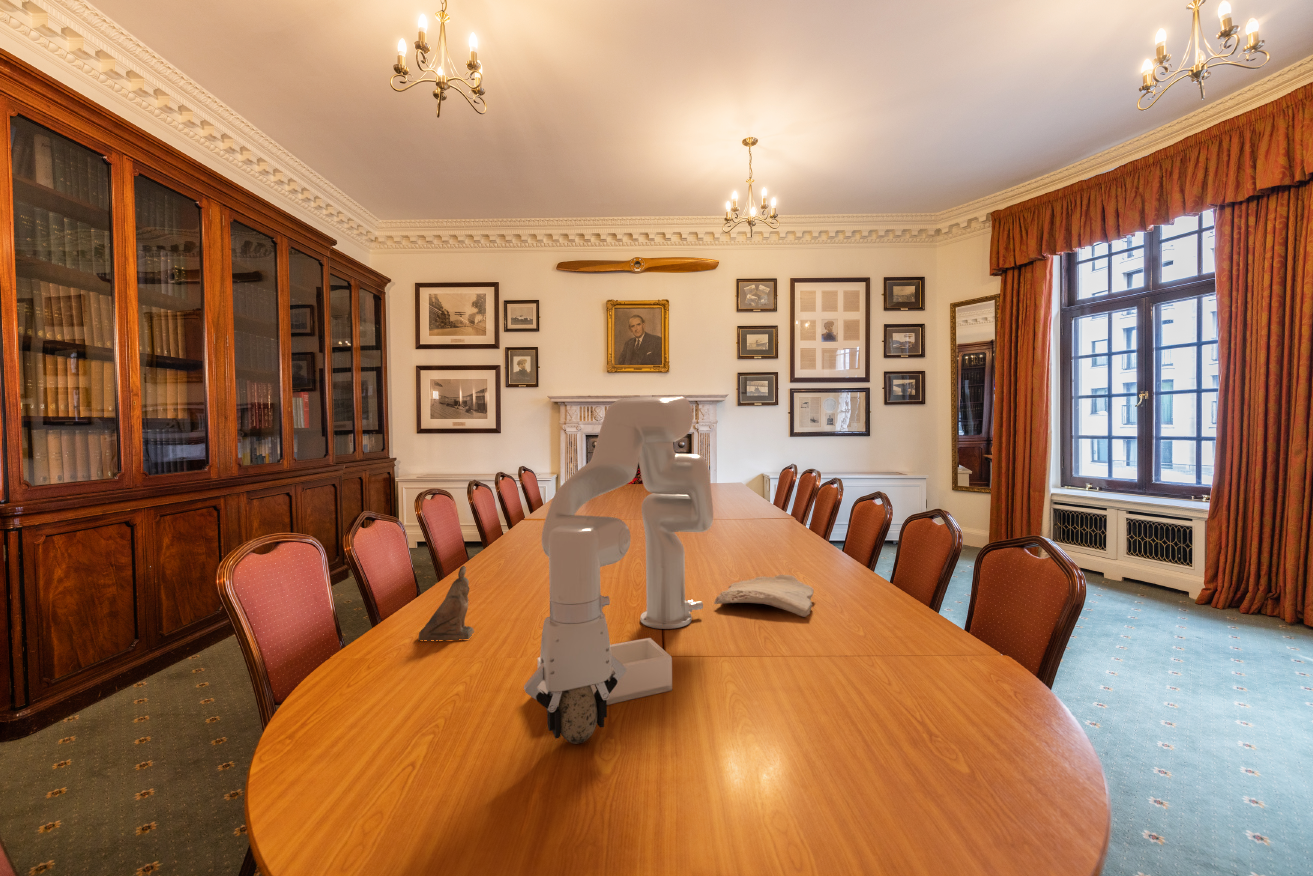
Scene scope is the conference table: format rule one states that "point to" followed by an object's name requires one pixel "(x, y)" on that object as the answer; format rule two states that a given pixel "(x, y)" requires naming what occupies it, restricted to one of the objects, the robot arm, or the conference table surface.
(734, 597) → the beige curved fragment
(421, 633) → the brown carved statuette
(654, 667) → the open rectangular box
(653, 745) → the conference table surface
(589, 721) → the decorative egg
